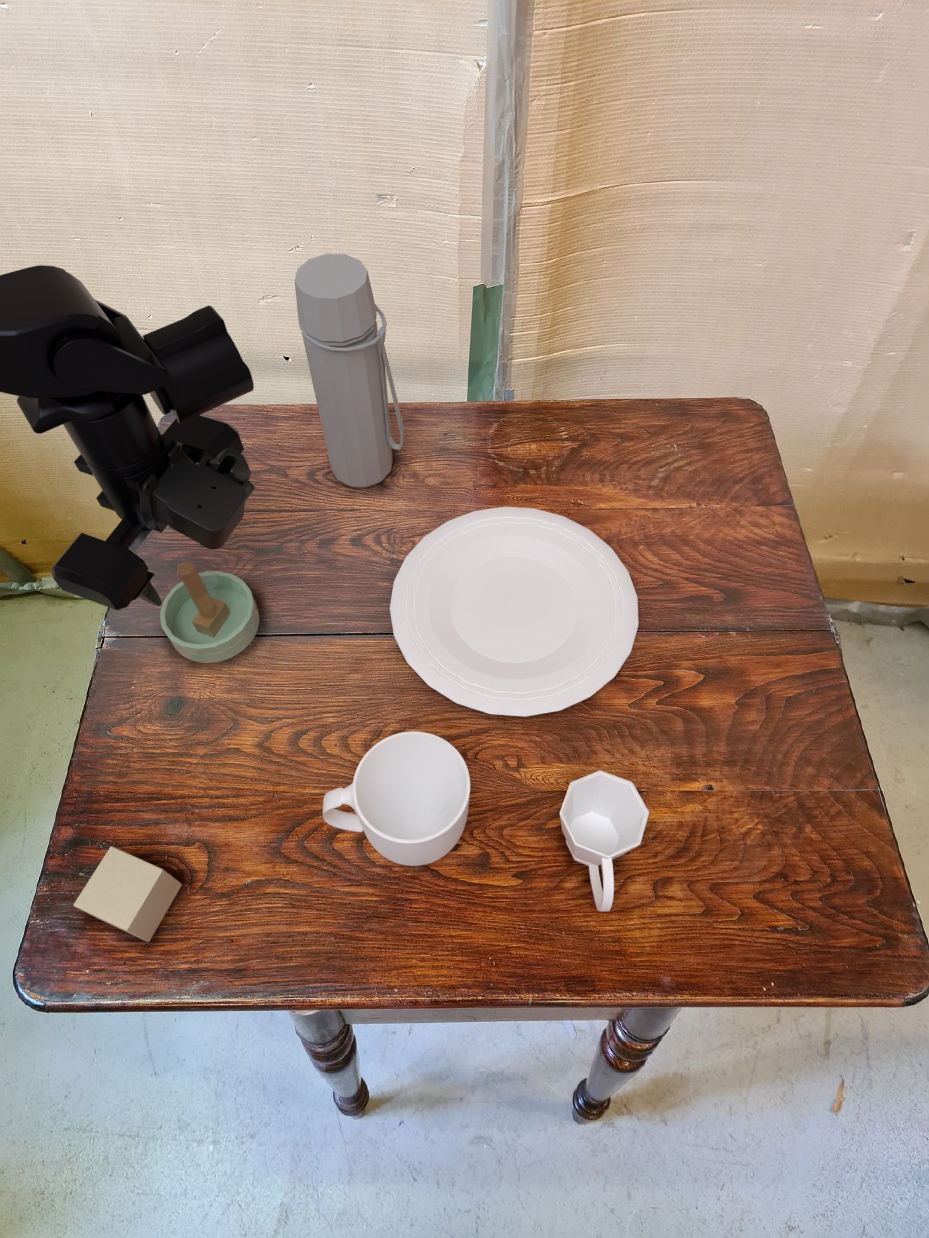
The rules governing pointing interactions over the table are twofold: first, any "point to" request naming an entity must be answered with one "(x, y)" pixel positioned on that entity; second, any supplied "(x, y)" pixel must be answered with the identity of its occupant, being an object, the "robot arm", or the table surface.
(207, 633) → the stirring stick
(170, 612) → the bowl
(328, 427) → the water bottle
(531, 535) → the plate
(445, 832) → the mug
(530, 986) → the table surface
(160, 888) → the stick stand
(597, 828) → the cup
